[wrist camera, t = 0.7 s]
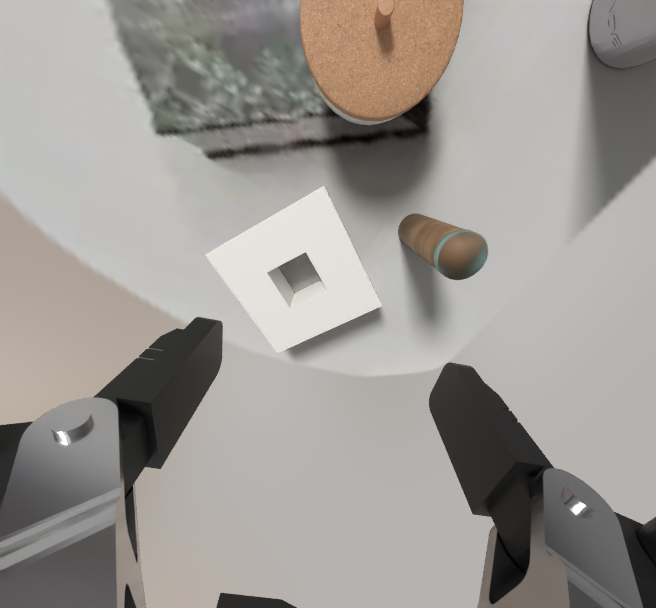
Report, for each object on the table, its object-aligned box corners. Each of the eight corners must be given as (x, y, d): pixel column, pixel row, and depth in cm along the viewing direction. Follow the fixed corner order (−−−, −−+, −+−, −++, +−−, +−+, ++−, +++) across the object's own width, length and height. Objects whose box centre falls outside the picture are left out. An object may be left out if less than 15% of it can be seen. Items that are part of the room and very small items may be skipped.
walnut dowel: (423, 207, 29) (481, 221, 18) (433, 236, 30) (493, 266, 20) (393, 223, 30) (430, 246, 19) (404, 251, 31) (445, 287, 20)
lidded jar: (433, 110, 25) (486, 74, 17) (330, 153, 27) (331, 139, 18) (410, -42, 21) (467, -195, 12) (289, 19, 22) (266, -80, 14)
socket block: (324, 185, 28) (324, 185, 24) (375, 290, 33) (382, 305, 29) (221, 245, 31) (204, 254, 27) (283, 333, 36) (277, 353, 32)
